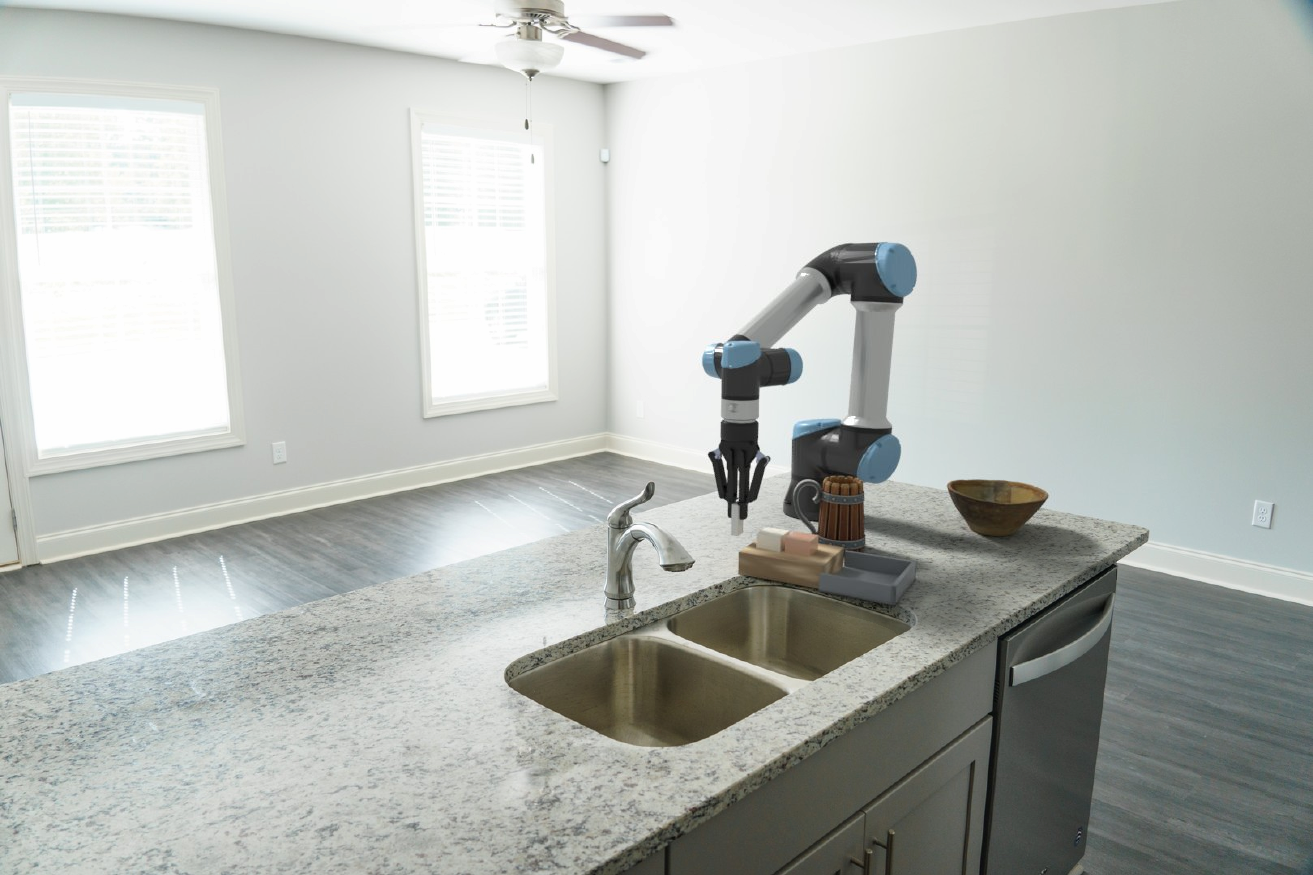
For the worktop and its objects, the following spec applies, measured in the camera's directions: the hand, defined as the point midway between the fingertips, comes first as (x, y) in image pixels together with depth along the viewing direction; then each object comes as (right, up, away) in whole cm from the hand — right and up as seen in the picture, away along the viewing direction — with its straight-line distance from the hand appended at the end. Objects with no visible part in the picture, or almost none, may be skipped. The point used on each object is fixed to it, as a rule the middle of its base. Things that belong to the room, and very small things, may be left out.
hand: (737, 533), depth 180 cm
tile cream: (+7, -2, -3) cm, 8 cm away
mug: (+21, -4, +11) cm, 24 cm away
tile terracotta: (+12, -3, -6) cm, 14 cm away
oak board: (+10, -7, -5) cm, 13 cm away
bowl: (+61, -2, +23) cm, 65 cm away
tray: (+24, -8, -12) cm, 28 cm away
